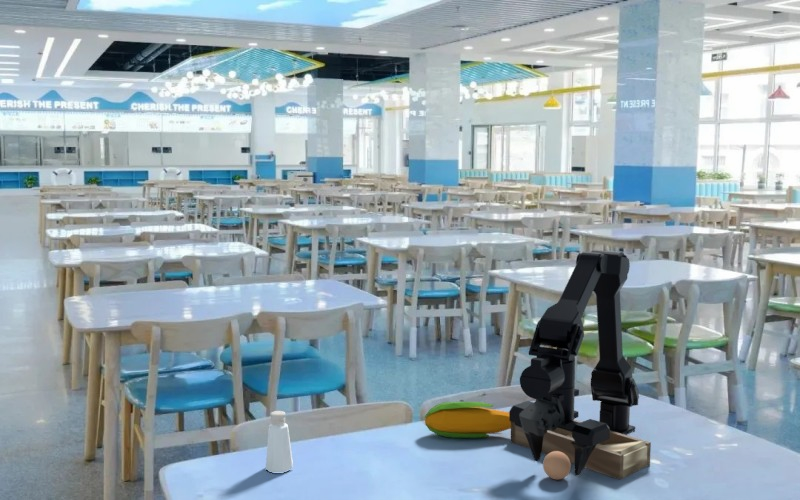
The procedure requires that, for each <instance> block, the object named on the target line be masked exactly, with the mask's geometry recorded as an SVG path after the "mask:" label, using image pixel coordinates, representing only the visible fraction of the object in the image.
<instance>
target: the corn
mask: <svg viewBox="0 0 800 500" xmlns="http://www.w3.org/2000/svg"><path fill="white" fill-rule="evenodd" d="M494 406H495V405H494V404H490V403H486V402H480V401H453V402H451V401H450V402H448V401H447V402H442V403H438V404H436V405H435V406H433V407H432V408H430V409H429V411H428V412H427V413H425V416H424V425H425V426H426V427H427V429H428V430H429V431H430V432H432V433H434V434H436V435H437V436H440V437H445V438H457V439H459V438H461V439H462V438H464V439H465V438H466V439H469V438H470V439H479V438H489V434H495V433H501V432H504V431H507V430H511V421H509V411H504V410H499V409H498V410H497V409H492V408H493V407H494Z"/></svg>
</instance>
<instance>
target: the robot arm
mask: <svg viewBox="0 0 800 500" xmlns="http://www.w3.org/2000/svg"><path fill="white" fill-rule="evenodd" d="M575 260H576V261H575V267H574V268H573V270H572V273H571V275H570V277H569V279H568V280H567V281H568V282H567V283H566V285H565V287H564V290H563V291H562V294H561V296H560V298H559V299H558V302H556V303H555V304H553V305H551V306H549V307H548V308H547V309H546V310H545V311H544V313H543V314H542V315H541V317H540V319H539V320H538V322H537V324H536V326H535V330H534V332H533V337H532V340H531V343H530V347H529V351H528V355H529V356H534V357H533V358H531V359H530V365H529V366H527V367H526V368H525V369H523V370H522V372H521V374H520V376H519V385H520V389H521V390H522V392H523V393H524V394H525V395H526V396H527V397H529V398H532V399H533V400H535V401H534V402H533V401H530V400H526V401H523V402H520V403H517V404H514V405H512V406H511V407H510V410H509V411H508V412H509V421H512V422H515V423H514V424H515V426H516V427H518V428H520V429H521V430H522V431H523V432H524V433H525V435H526V438H527V440H528V443H529V446H530V448H529V449H530V451H531V454H532V458H533V461H535V462H538V461H540V460H541V456H542V444H543V437H544V434H546V433H547V431H548V430H552V431H554V430H555V429H556V428H561V429H564V430H567V431H571V432H572V437H573V439H574V440H575V441H573V442H571V444H572V446H573V447H574V449H575V464H574V467H573V468H574V476H576V477H578V476H580V475H581V474H582V472H583V470H584V469H585V467H584V466H585V464H586V462H587V460H588V458H589V456H590V454H591V453H592V451H593V449H594V448H595V446H596V445H597V444H599V443H602V442H603V441H606V440H608V439H610V430H611V431H614V432H618V433H621V434H624V435H626V434H627V433H629V432H632V431H634V430H636V426H634V425H631V424H630V411H631V410H630V408H632V407H634V406H638V405H639V399H640V396H639V395H640V391H639V388H638V385H637V383H636V380H635V378H633V370H632V366H631V365H630V363H629V362H628V361H627V359H626V358H625V356H624V354H623V335H622V334H623V332H622V314H621V313H622V311H621V289H622V288H623V287H624V285H625V283H626V281H627V280H628V274H629V272H630V258H629V257H628V256H627V255H625V254H624V252H622V251H616V250H615V251H612V250H611V251H610V250H602V249H601V250H600V249H599V250H598V249H592V250H591V251H583V252H578V253H577V256H576V259H575ZM593 293H594V294H595V300H596V301H595V303H596V317H597V318H596V319H597V335H598V336H597V338H598V352H599V353H598V356H599V360H598V362H597V363H596V365H595V366H594V368H593V369H592V371H591V373H590V375H591V376H590V388H591V389H590V391H591V399H592V401H593V402H594V401H595V402H600V403H599V409H600V410H599V418H598V419H599V421H598V420H595V419H592V418H589V419H586V420H584V421H580V422H581V423H579V422H575V421H574V420H576V419H577V418H579V411H577V410H575V397H578V396H580V390H579V389H578V388H576V387H575V385H576V381H575V380H576V358H575V357H577V356H578V353H579V352H580V348H581V345H582V342H583V340H584V337H585V332H584V330H585V327H584V324H583V321H582V318H583V314H584V312H585V309H586V308H587V306H588V303H589V301H590V300H591V296H592V294H593Z"/></svg>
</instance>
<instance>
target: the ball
mask: <svg viewBox="0 0 800 500" xmlns="http://www.w3.org/2000/svg"><path fill="white" fill-rule="evenodd" d="M542 468H543V471H544V473H545V475H547V476H548V477H549V478H550V479H553V480H556V481H557V480H562V479H564V478H566V477H568V475H569V473H570V472H571V469H572V463H571V462H570V460H569V458H568V457H567V455H565V454H564V453H562V452H560V451H553V452H550V453H549V454H548V455H547V454H545V457H544V459H543V462H542Z"/></svg>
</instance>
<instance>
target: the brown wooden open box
mask: <svg viewBox="0 0 800 500" xmlns="http://www.w3.org/2000/svg"><path fill="white" fill-rule="evenodd" d="M574 421H575V422H579V423H581V422H582V421H580V420H576V419H574ZM514 423H515V422H512V421H511V429H510V443H512V444H516V445H519V446H522V447H525V448H527V449H530V446H529V443H528V440H527V438H526V435H525V433H524V432H523V431H522V430H521V429H520V428H518V427H516V426H515V424H514ZM573 441H575V440H574V439H573V437H572V432H571V431H567V430H564V429H561V428H556V429H555V430H554V431H552V430H548V431H547V433H546V434H544V437H543V444H542V452H541V454H545V455H548V454H549V453H550V452H553V451H560V452H562V453H564V454H565V455H567V457H568V458H569V460H570V462H571V464H572V465H573V464H574V465H575V449H574V447H573V446H572V444H571V442H573ZM651 443H652V442H650V441H647V440H644V439H641V438H638V437H635V436H631V435H629V434H628V435H627V434H621V433H618V432H614V431H611V430H610V439H608V440H606V441H603V442H602V443H599V444H597V445H596V446H595V448H594V449H593V451H592V453H591V454H590V456H589V458H588V460H587V462H586V464H585V466H584V469H585V468H586V469H589V470H590V471H594V472H597V473H599V474H603V475H606V476H608V477H611V478H614V479H617V480H621V479H624V478H625V477H628V476H630V475H632V474H634V473H637V472H639V471H641V470H643V469H645V468H648V466H651V449H652V447H651V446H652V445H651Z"/></svg>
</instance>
